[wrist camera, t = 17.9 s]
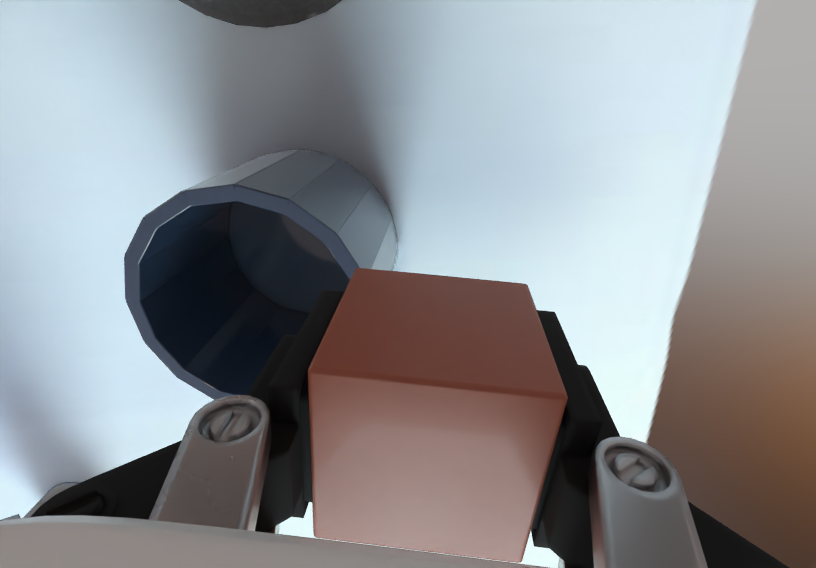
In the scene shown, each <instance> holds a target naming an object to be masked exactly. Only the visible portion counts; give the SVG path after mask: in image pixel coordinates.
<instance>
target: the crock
mask: <svg viewBox="0 0 816 568" xmlns="http://www.w3.org/2000/svg"><path fill="white" fill-rule="evenodd" d="M396 256H397V240H396V231H395V226H394V222H393V219H392V216H391V213H390V211H389V208H388V206H387V205H386V203H385V201H384V199H383V197H382V196H381V194H380V193H379V192H378V190H377V189H376V188H375V186H374V185H373V184H372V183H371V182H370V181H369V180H368V179H367V178H366V177H365V176H364V175H363V174H362V173H360V172H359V171H358V170H357V169H355V168H354V167H352V166H351V165H349V164H348V163H346V162H344V161H342V160H340V159H338V158H336V157H333V156H330V155H328V154H325V153H321V152H316V151H312V150H301V149H298V150H285V151H280V152H275V153H270V154H265V155H262V156H260V157H258V158H255V159H253V160H251V161H249V162H246V163H244V164H242V165H240V166H237V167H235V168H233V169H230V170H228V171H226V172H224V173H221V174H219V175H217V176H215V177H212V178H210V179H208V180H205V181H203V182H201V183H199V184H196V185H194V186H192V187H190V188H187V189H185V190H183V191H181V192H179V193H178V194H176V195H175V196H173V197H172V198H170V199H169V200H167V201H166V202H164V203H163V204H162V205H160V206H159V207H157V208H156V209H154V210H153V211H151V212H150V213H148V214H147V215H145V217H143V219H142V221H141V223H140V225H139V227H138V229H137V231H136V233H135V235H134V237H133V239H132V241H131V243H130V245H129V247H128V249H127V251H126V253H125V257H124V266H125V299H126V302H127V305H128V307H129V309H130V311H131V314H132V316H133V318H134V320H135V322H136V325H137V327H138V329H139V331H140V334H141V336H142V338H143V340H144V341H145V343H146V345H147V346H148V347H149V348H150V349H151V350H152V351H153V352H154V353H155V354H156V355H157V357H158V358H159V359H160V360H161V361H162V362H163V363H164V364H165V365H166V366H167V367H168V368H169V370H170V371H171V372H172V373H173V374H174V375H175V376H176V377H177V378H179V379H181V380H182V381H184V382H186V383H187V384H189V385H191V386H192V387H194V388H196V389H197V390H199V391H201V392H202V393H204V394H206V395H207V396H209V397H211V398H212V399H214V400H216V399H220V398H223V397H226V396H233V395H247V393H248V391H249V390H250V388H251V387H252V385H253V383H254V382H255V380H256V379H257V377H258V375H259V374H260V372H261V371H262V369H263V367H264V366H265V364H266V363H267V361H268V359H269V358H270V356H271V355H272V353H273V351H274V350H275V348H276V347H277V345H278V343H279V342H280V340H281V339H282V337H283V336H284V335H296V336H297V334H298V332H299V331H300V329H301V327H302V325H303V324H304V322H305V320H306V319H307V317H308V315H309V313H310V312H311V310H312V308H313V306H314V305H315V303H316V301H317V299H318V298H319V296H320V294H321V292H322V291H323V290H324V289H327V290H337V291H345V290H346V288H347V286H348V284H349V282H350V279H351V277H352V275H353V273H354V271H355V269H356V268H366V269H376V270H387V271H393V267H394V263H395V260H396Z"/></svg>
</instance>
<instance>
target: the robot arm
mask: <svg viewBox="0 0 816 568" xmlns="http://www.w3.org/2000/svg"><path fill="white" fill-rule="evenodd" d="M344 292H345V291H337V290H327V289H324V290H323V291H322V292H321V294H320V296H319V298H318V299H317V301H316V303H315V305H314V306H313V308H312V310H311V312H310V313H309V315H308V317H307V319H306V320H305V322H304V324H303V325H302V327H301V329H300V331H299V332H298V334H297V336H296V335H284V336H283V337H282V339H281V340H280V342H279V343H278V345H277V347H276V348H275V350H274V351H273V353H272V355H271V356H270V358H269V359H268V361H267V363H266V364H265V366H264V367H263V369H262V371H261V372H260V374H259V375H258V377H257V379H256V380H255V382H254V383H253V385H252V387H251V388H250V390H249V391H248V393H247V395H233V396H226V397H223V398H220V399H216V400H214V401H212V402H210V403H208V404H206V405H205V406H203V407H202V408H201V409H200V410H199V411H197V412H196V413H195V415H194V416H193V418H192V419H191V421H190V423H189V425H188V428H187V430H186V432H185V435H184V437H183V439H182V441H179V442H177V443H174V444H172V445H170V446H167V447H165V448H162V449H160V450H158V451H155V452H153V453H150V454H148V455H146V456H143V457H141V458H138V459H136V460H134V461H131V462H129V463H127V464H124V465H122V466H119V467H117V468H115V469H112V470H110V471H107V472H105V473H103V474H100V475H98V476H95V477H93V478H91V479H88V480H86V481H83V482H81V483H79V484H76V485H74V486H71V487H69V488H67V489H66V490H64V491H62V492H60V493H58V494H56V495H54V496H53V497H52V498H50V499H49V500H48V501H46V502H45V503H43V504H42V505H41V506H40V507H39V508H38V509H37V510H36V511H35V512H34V513H33V514H32V515H31V517H30V518H20V516H19V514H18V515H14V516H11V517H8V518H5V519H2V520H0V568H548V567H540V566H532V565H525V564H517V563H509V562H501V561H493V560H485V559H477V558H469V557H461V556H453V555H445V554H438V553H430V552H421V551H413V550H405V549H397V548H389V547H381V546H373V545H365V544H357V543H349V542H340V541H332V540H324V539H315V538H307V537H298V536H290V535H282V534H279V524H280V523H281V522H283V521H285V520H286V519H288V518H290V517H291V516H292V517H300V518H304V515H305V512H306V509H307V506H308V503H309V502H312V475H311V447H310V419H309V391H308V368H309V366H310V364H311V362H312V360H313V358H314V356H315V354H316V351H317V349H318V347H319V345H320V343H321V341H322V339H323V337H324V335H325V332H326V330H327V328H328V326H329V324H330V322H331V320H332V318H333V315H334V313H335V311H336V309H337V307H338V305H339V303H340V301H341V299H342V296H343V294H344ZM537 313H538V316H539V319H540V321H541V324H542V327H543V330H544V332H545V335H546V338H547V341H548V343H549V346H550V349H551V352H552V355H553V357H554V360H555V363H556V366H557V368H558V371H559V374H560V377H561V379H562V382H563V385H564V388H565V390H566V393H567V397H568V399H567V402H566V406H565V409H564V413H563V417H562V420H561V424H560V427H559V431H558V434H557V438H556V441H555V445H554V449H553V452H552V456H551V459H550V463H549V466H548V470H547V473H546V477H545V480H544V484H543V488H542V491H541V495H540V498H539V502H538V505H537V509H536V512H535V516H534V520H533V523H532V527H531V532H532V538H533V543H534V546H536V547H544V548H550V549H551V550H552V551H553V552H555V553H556V554H557V555H558V556H559V557H560V558H559V563H558V568H789V567H787V566H786V565H784V564H782V563H781V562H779V561H778V560H777V559H775V558H773V557H772V556H770V555H769V554H767V553H766V552H764V551H763V550H761V549H760V548H758V547H757V546H755V545H754V544H752V543H750V542H749V541H747V540H746V539H744V538H743V537H741V536H740V535H738V534H737V533H735V532H734V531H732V530H731V529H729V528H728V527H726V526H724V525H723V524H722V523H720V522H719V521H717V520H715V519H714V518H712V517H711V516H709V515H708V514H706V513H705V512H703V511H702V510H700V509H699V508H697V507H696V506H694V505H693V504H691V503H690V502H688V501H687V498H686V495H685V491H684V488H683V485H682V481H681V478H680V476H679V474H678V472H677V470H676V468H675V466H674V465H673V464H672V463H671V462H670V461H669V460H668V458H667V457H665V456H664V455H663V454H661V453H660V452H659V451H658V450H656V449H654V448H653V447H651V446H649V445H647V444H645V443H643V442H640V441H637V440H635V439H632V438H625V437H620V435H619V433H618V431H617V429H616V427H615V424H614V422H613V420H612V418H611V416H610V414H609V411H608V409H607V407H606V405H605V403H604V401H603V399H602V396H601V394H600V392H599V390H598V388H597V386H596V383H595V381H594V379H593V377H592V375H591V373H590V371H589V369H588V368H587V367H586V366H584V365H578V364H577V362H576V360H575V358H574V355H573V353H572V351H571V348H570V346H569V344H568V341H567V339H566V337H565V334H564V332H563V330H562V327H561V325H560V323H559V321H558V318H557V316H556V314H555V312H549V311H539V310H537Z"/></svg>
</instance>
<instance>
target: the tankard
mask: <svg viewBox="0 0 816 568" xmlns="http://www.w3.org/2000/svg"><path fill="white" fill-rule="evenodd" d="M179 1H181V2H183V3H185V4H187V5H189V6H190V7H192V8H194V9H196V10H198V11H199V12H201V13H203V14H205V15H207V16H210V17H213V18H216V19H220V20H223V21H226V22H229V23H232V24H235V25H244V26H255V27H274V26H281V25H287V24H294V23H298V22H301V21H303V20H306V19H308V18H311V17H313V16H316V15H318V14H321V13H323V12H326V11H327V10H329V9H330V8H331V7H333V6H334V5H336V4H337V3H339V2H340V1H341V0H179Z"/></svg>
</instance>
